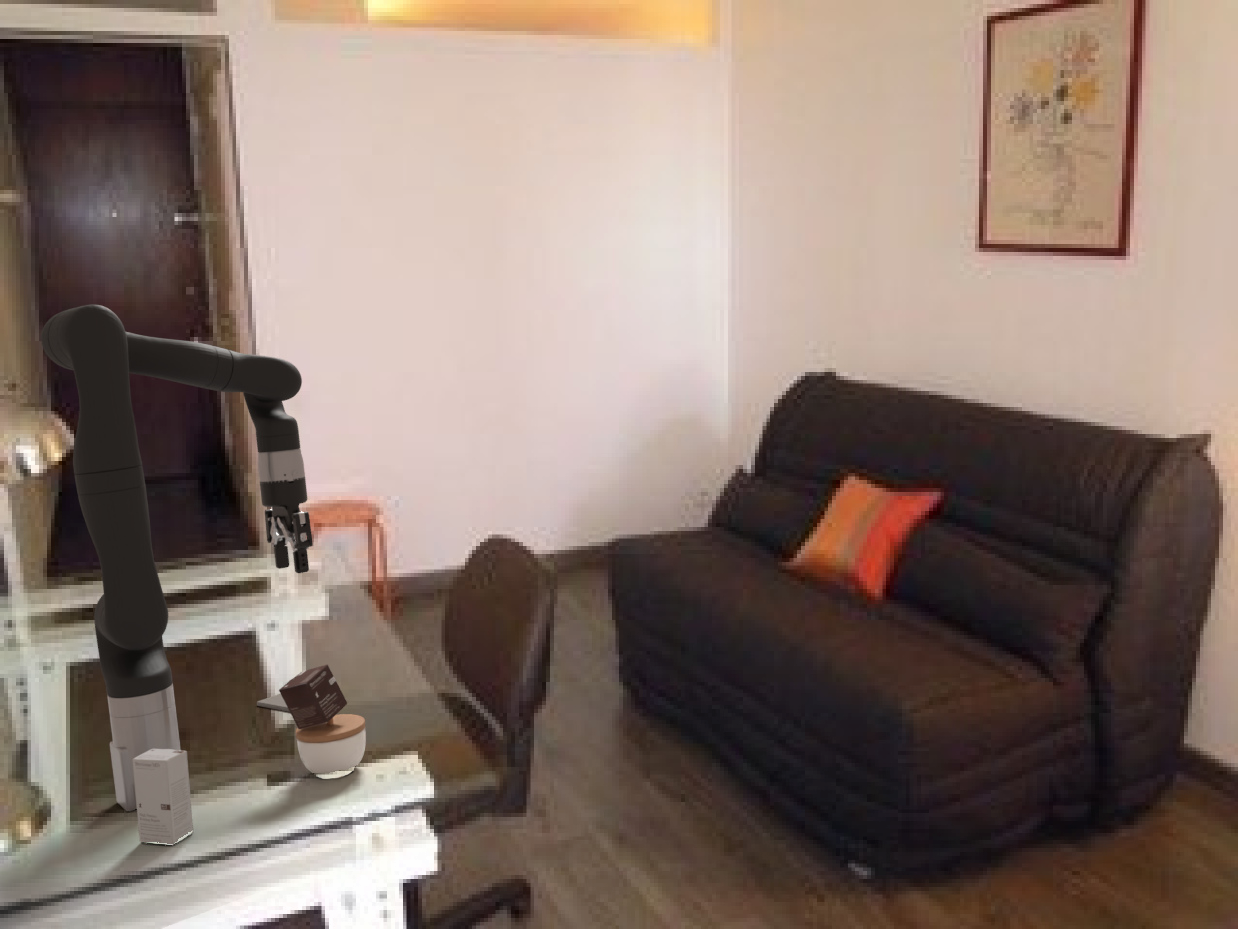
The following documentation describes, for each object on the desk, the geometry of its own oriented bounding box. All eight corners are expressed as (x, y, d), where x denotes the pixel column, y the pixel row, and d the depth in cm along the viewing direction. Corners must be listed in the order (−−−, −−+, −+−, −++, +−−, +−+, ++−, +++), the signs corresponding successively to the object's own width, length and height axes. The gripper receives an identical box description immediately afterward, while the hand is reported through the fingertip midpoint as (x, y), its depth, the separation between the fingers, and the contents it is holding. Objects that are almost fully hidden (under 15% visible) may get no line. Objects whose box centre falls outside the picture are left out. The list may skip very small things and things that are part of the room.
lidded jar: (379, 758, 173) (373, 702, 173) (355, 784, 163) (349, 724, 162) (316, 761, 175) (310, 705, 174) (289, 786, 164) (282, 727, 163)
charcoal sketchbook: (302, 714, 201) (301, 710, 201) (257, 705, 210) (256, 701, 210) (343, 698, 209) (343, 694, 209) (299, 691, 218) (298, 687, 218)
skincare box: (138, 844, 147) (128, 759, 146) (161, 830, 151) (151, 747, 150) (175, 847, 145) (164, 760, 144) (197, 833, 149) (187, 749, 148)
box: (326, 724, 163) (305, 683, 162) (298, 731, 166) (277, 690, 164) (348, 703, 169) (328, 663, 167) (320, 710, 171) (300, 670, 170)
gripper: (245, 478, 185) (256, 570, 187) (276, 480, 174) (287, 578, 175) (287, 473, 190) (297, 563, 191) (320, 475, 179) (330, 570, 180)
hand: (292, 570), depth 183 cm, fingers open, 8 cm apart
